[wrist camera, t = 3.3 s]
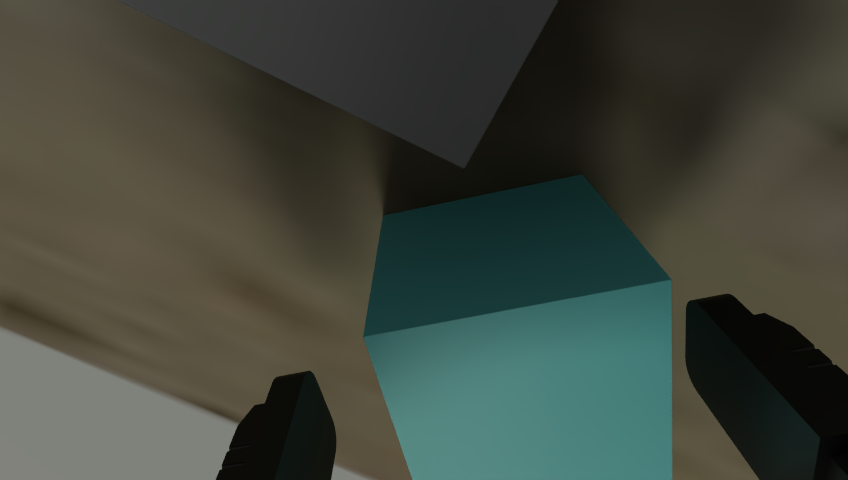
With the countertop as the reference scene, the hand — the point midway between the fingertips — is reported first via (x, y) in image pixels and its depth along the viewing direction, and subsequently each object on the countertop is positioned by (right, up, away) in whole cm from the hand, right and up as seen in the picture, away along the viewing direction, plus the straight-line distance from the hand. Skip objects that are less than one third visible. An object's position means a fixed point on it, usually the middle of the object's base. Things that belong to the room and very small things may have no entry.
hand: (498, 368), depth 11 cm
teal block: (0, +2, +3) cm, 3 cm away
